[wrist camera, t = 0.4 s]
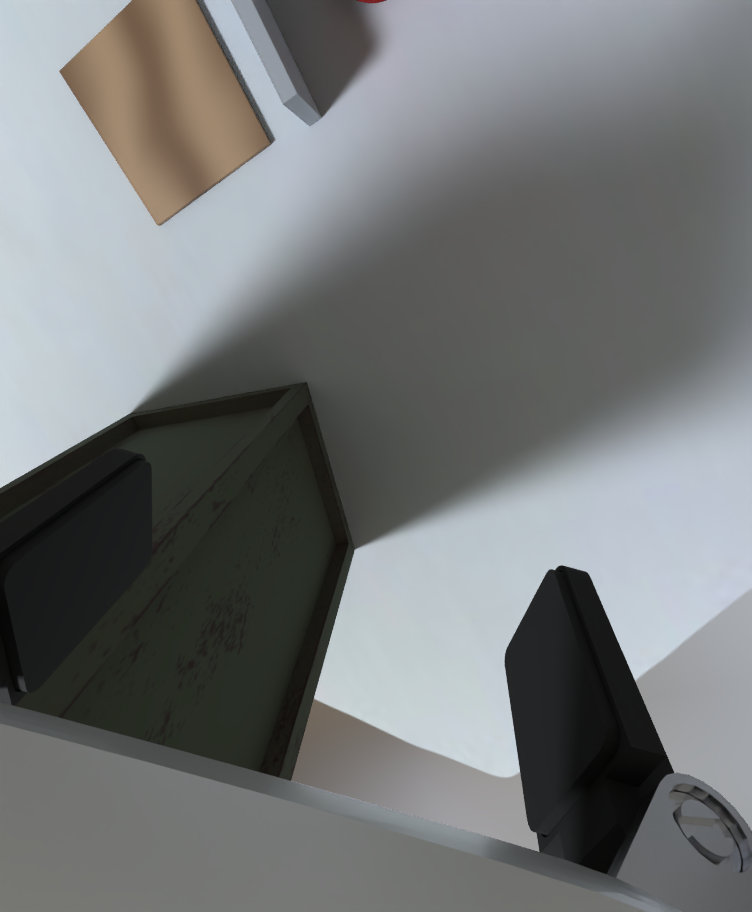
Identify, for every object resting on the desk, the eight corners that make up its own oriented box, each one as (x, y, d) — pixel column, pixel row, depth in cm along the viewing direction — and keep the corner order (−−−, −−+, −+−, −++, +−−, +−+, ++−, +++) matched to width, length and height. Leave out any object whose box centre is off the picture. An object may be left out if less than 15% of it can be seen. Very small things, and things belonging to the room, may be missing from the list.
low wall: (221, -94, 27) (167, -174, 22) (321, 117, 31) (297, 93, 26) (208, -82, 28) (152, -157, 22) (309, 126, 32) (283, 104, 26)
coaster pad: (177, -37, 29) (174, -41, 28) (271, 144, 32) (269, 143, 32) (63, 73, 32) (59, 71, 32) (160, 225, 36) (157, 225, 36)
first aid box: (199, 564, 51) (-351, 1312, 16) (128, 414, 44) (-1223, 1189, 8) (354, 549, 48) (95, 1492, 12) (306, 382, 40) (-778, 1565, 4)
